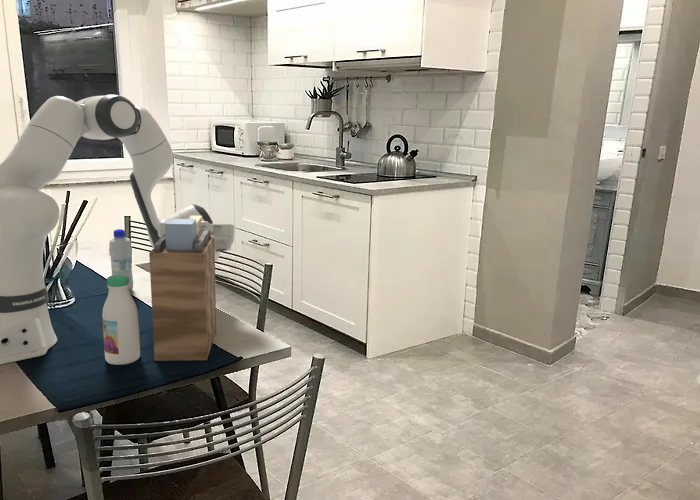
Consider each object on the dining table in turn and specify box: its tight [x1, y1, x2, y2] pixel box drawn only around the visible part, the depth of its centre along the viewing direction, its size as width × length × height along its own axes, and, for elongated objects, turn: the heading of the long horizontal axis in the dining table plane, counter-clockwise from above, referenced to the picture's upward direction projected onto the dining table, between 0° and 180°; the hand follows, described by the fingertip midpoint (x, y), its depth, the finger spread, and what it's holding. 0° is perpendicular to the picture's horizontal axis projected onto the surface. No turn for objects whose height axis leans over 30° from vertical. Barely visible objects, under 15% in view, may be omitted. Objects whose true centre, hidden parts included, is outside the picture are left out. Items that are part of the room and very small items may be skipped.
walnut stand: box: [148, 229, 217, 362], centre depth 141 cm, size 18×12×28 cm, turn 6°
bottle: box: [108, 228, 134, 292], centre depth 180 cm, size 7×7×20 cm
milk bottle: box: [101, 275, 141, 366], centre depth 133 cm, size 8×8×20 cm
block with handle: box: [165, 216, 202, 250], centre depth 145 cm, size 26×6×6 cm, turn 6°
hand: (193, 223), depth 152 cm, fingers open, 4 cm apart
